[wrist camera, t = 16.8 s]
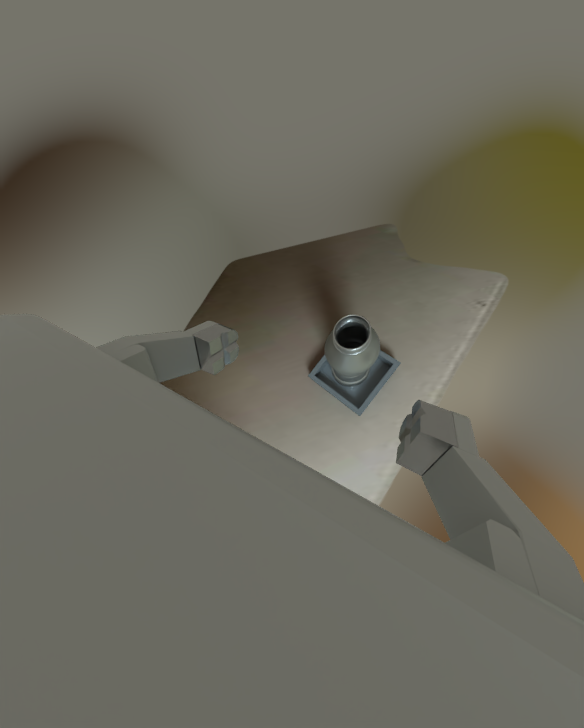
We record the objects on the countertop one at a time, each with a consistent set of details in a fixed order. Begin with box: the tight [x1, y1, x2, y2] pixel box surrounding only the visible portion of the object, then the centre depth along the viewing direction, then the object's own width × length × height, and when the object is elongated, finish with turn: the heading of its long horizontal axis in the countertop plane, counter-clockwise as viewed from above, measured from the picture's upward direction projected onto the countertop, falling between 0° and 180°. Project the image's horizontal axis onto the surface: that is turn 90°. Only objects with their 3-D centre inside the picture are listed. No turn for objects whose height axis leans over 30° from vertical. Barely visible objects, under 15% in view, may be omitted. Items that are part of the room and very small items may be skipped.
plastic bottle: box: [325, 314, 380, 387], centre depth 29 cm, size 6×7×20 cm
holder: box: [308, 350, 400, 416], centre depth 38 cm, size 11×11×3 cm
